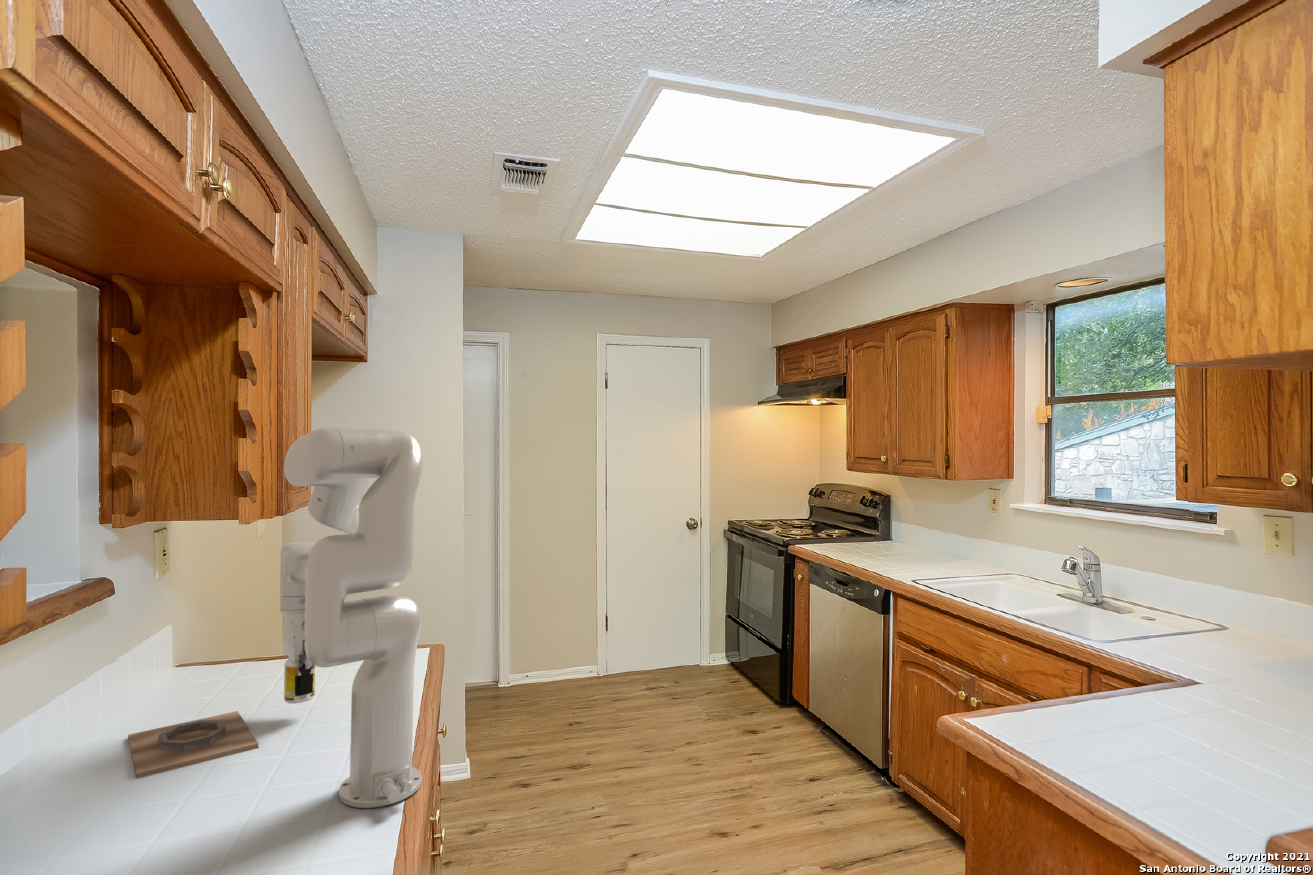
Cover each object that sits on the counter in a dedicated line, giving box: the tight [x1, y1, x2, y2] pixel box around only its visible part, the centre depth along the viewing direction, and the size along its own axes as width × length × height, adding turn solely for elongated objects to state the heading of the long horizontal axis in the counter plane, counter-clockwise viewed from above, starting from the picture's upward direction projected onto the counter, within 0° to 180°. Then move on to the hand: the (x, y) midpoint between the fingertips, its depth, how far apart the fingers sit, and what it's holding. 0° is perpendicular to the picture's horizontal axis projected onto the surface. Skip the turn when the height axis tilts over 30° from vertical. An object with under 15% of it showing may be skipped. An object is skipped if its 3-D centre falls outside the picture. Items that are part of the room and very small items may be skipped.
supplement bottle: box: [283, 656, 316, 704], centre depth 137 cm, size 6×6×10 cm
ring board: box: [127, 710, 259, 779], centre depth 126 cm, size 20×18×2 cm
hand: (299, 689), depth 137 cm, fingers closed on supplement bottle, 5 cm apart
